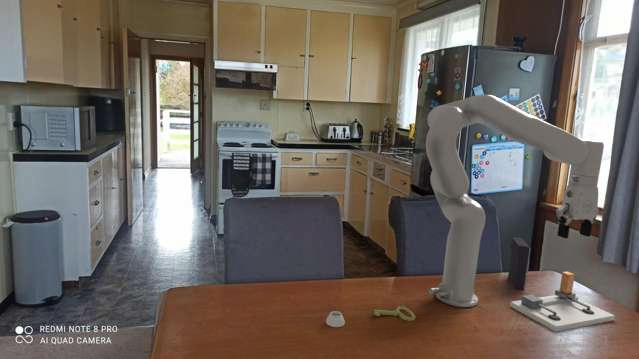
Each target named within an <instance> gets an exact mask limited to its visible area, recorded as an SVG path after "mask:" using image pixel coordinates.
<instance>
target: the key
mask: <svg viewBox="0 0 639 359" xmlns="http://www.w3.org/2000/svg"><path fill="white" fill-rule="evenodd" d="M372 309H373V308H372ZM401 311H404V312H407V313H408V314H409V315H410V316H406V315H405V314H403V313H402V312H401ZM372 314H373V315H374V316H375V317H380V316H381V315H382V316H383V315H385V316H394V317H396V316H398V317H399V318H400V319H402V320H404V321H410V322H412V321H414V320H416V315H415V314H414V313H413V311H412V310H410V309H409V308H407V307H405V306H400V305H399V306H397V308H396V309H393V310H387V309H385V310H384V309H373V310H372Z"/></svg>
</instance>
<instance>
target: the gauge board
mask: <svg viewBox="0 0 639 359" xmlns="http://www.w3.org/2000/svg"><path fill="white" fill-rule="evenodd" d="M575 300H577V301H579V302H581V303H584V304H586V305H588V306H590V310H587V307H585V306H582V305H580V304H578V303H576V302H574V301H572V300H565V299H563V298H560V297H558V296H556V295H555V294H554V295H546V296H539V297H537V296H536V295H535V294H526V295H521V300H514V301H510V305H509V306H510V307H511V308H512V309H514V310H515V311H517V312H520V313H522V314H523V315H525V316H527V317H529V318H531V319H532V320H534V321H536V322H537V323H538V324H541V325H543V326H545V327H547V328H548V329H550V330H552V331H554V332H560V331H565V330H571V329H576V328H580V327H585V326H586V327H587V326H592V325H596V324H602V323H606V322H607V323H608V322H611V321H615V315H614V314H612V313H610V312H609V311H606V310H603V309H602V308H599V307H597V306H594V305H593V304H590V303H588V302H586V301H584V300H582V299H579V296H577V295H576V296H575Z"/></svg>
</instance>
